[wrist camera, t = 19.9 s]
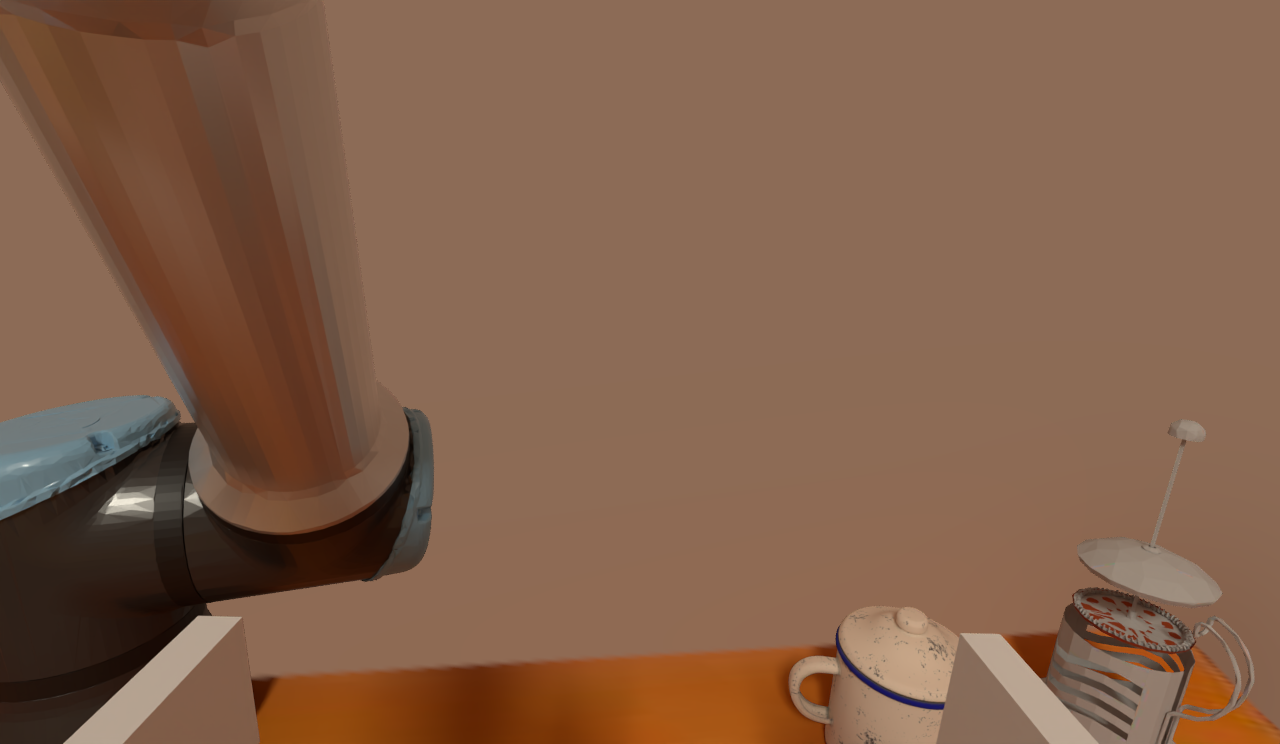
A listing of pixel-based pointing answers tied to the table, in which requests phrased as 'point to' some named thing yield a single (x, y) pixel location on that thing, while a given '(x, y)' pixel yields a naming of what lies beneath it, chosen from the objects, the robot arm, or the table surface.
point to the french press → (1136, 636)
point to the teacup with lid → (882, 678)
